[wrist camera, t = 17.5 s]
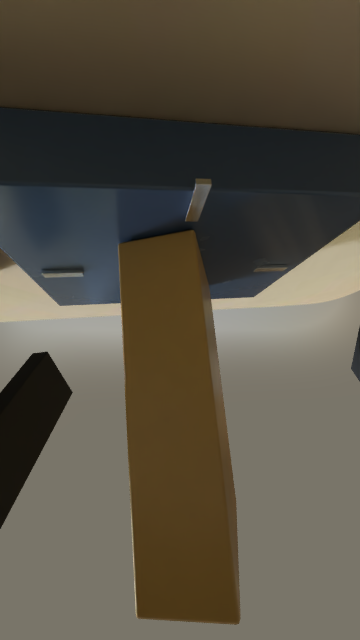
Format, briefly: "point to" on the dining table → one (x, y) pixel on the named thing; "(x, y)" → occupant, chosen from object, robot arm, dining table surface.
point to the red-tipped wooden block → (176, 436)
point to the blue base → (168, 197)
